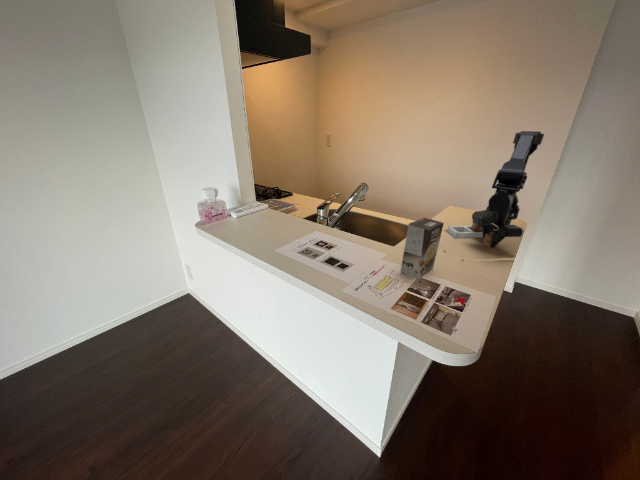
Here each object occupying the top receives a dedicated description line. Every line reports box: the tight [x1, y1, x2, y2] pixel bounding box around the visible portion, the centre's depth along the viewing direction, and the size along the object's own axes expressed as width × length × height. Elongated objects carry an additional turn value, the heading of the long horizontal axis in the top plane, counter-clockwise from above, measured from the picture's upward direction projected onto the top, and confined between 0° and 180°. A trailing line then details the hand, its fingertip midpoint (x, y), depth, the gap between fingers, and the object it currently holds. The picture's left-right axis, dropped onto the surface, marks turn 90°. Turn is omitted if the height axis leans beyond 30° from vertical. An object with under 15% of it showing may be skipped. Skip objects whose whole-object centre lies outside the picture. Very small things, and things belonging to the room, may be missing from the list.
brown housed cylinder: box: [471, 222, 482, 232], centre depth 104 cm, size 4×4×6 cm
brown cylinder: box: [482, 232, 494, 248], centre depth 95 cm, size 4×4×6 cm
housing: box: [443, 225, 483, 240], centre depth 105 cm, size 16×8×3 cm, turn 94°
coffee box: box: [400, 217, 444, 280], centre depth 77 cm, size 9×6×16 cm
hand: (488, 244), depth 96 cm, fingers closed on brown cylinder, 4 cm apart
